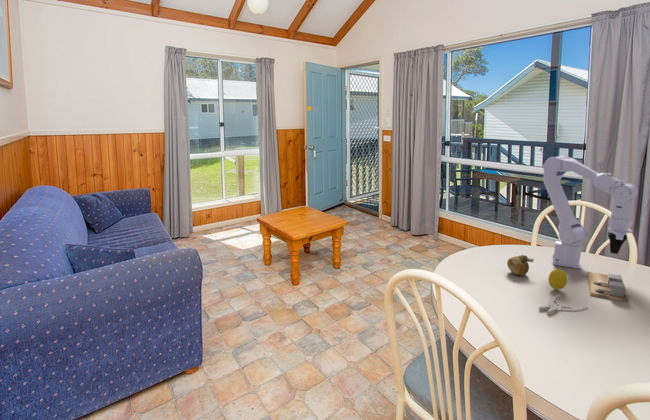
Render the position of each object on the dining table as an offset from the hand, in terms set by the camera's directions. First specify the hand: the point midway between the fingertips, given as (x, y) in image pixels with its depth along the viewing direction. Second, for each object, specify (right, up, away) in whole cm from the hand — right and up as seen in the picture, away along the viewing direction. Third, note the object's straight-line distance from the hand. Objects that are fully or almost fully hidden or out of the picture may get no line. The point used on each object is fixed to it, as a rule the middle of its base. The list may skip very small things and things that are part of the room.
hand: (613, 252), depth 146 cm
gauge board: (-7, -11, -6) cm, 15 cm away
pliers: (-32, -16, -19) cm, 40 cm away
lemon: (-26, -12, -8) cm, 30 cm away
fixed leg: (-11, -12, -13) cm, 21 cm away
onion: (-33, -9, +6) cm, 34 cm away
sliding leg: (-8, -10, -8) cm, 15 cm away
